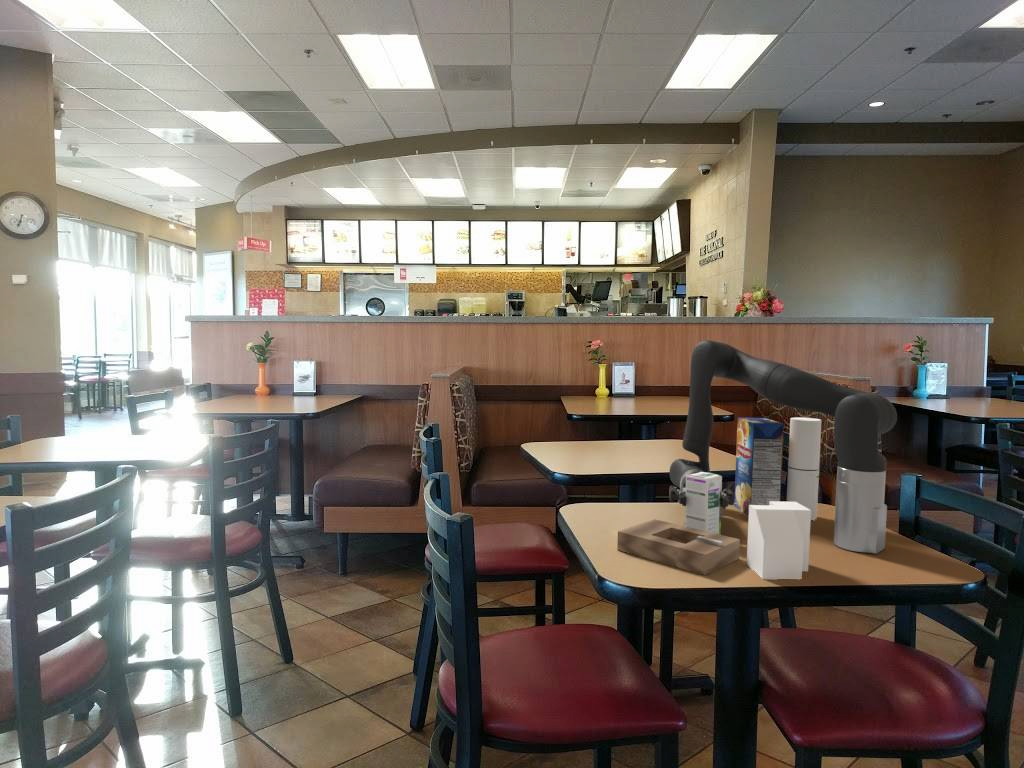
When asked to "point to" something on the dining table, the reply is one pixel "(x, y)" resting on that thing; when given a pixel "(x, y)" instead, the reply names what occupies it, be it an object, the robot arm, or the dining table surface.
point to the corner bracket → (778, 540)
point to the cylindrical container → (804, 462)
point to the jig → (679, 546)
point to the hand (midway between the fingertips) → (704, 502)
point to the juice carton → (758, 462)
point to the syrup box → (703, 502)
